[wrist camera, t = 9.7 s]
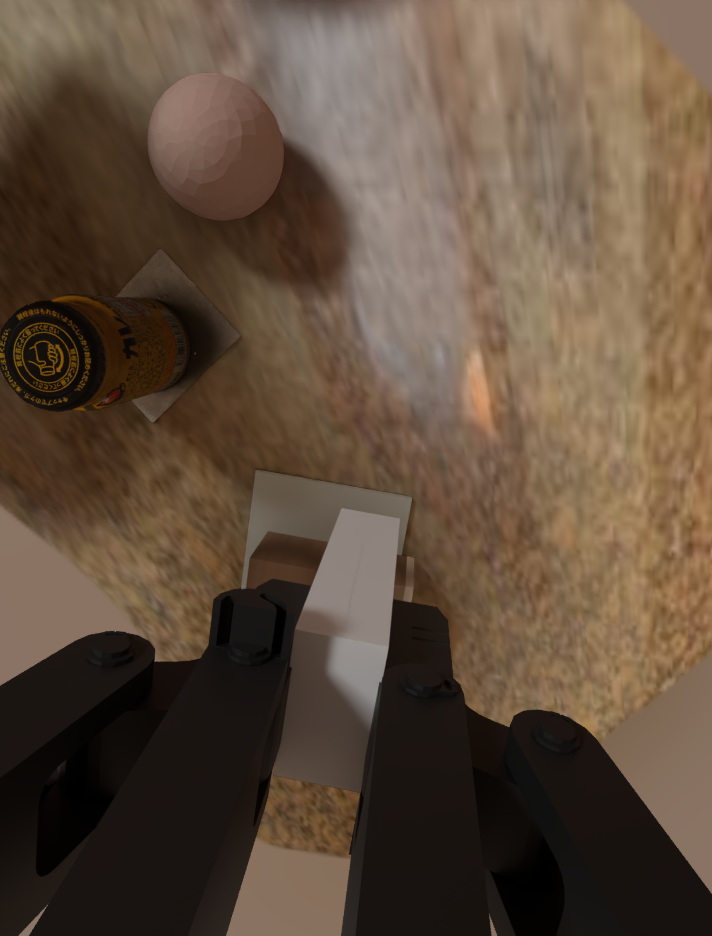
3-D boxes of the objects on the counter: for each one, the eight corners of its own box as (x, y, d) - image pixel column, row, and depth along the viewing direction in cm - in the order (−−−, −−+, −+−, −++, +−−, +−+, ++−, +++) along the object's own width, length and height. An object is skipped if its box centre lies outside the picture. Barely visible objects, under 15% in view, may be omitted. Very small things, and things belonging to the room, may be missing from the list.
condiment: (75, 340, 43) (-51, 351, 32) (161, 248, 42) (61, 223, 30) (154, 422, 44) (59, 463, 33) (242, 335, 42) (175, 345, 31)
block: (401, 625, 45) (259, 598, 46) (414, 557, 44) (268, 531, 45) (399, 662, 41) (240, 632, 41) (413, 588, 39) (249, 557, 40)
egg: (176, 100, 39) (113, 45, 31) (295, 100, 39) (262, 44, 31) (180, 227, 41) (122, 207, 33) (295, 229, 40) (263, 209, 32)
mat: (235, 643, 47) (233, 646, 47) (256, 469, 44) (255, 470, 44) (380, 671, 47) (379, 674, 46) (412, 496, 44) (412, 498, 43)
